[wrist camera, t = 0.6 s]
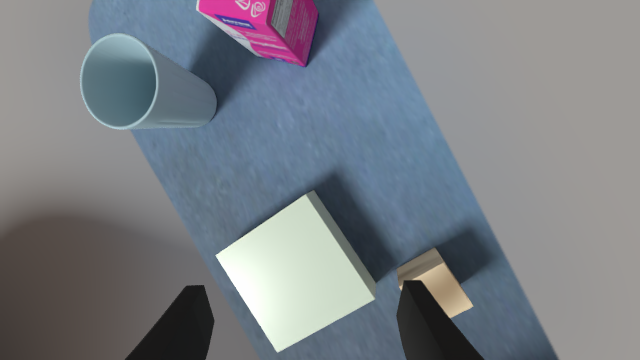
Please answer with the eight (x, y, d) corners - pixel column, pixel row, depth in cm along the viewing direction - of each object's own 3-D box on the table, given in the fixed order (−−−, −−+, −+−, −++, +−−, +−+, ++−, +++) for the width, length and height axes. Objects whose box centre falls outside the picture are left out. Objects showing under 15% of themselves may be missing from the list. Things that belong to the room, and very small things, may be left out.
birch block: (459, 284, 30) (473, 306, 26) (420, 304, 31) (427, 329, 26) (434, 247, 30) (443, 262, 26) (396, 268, 31) (399, 286, 27)
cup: (174, 62, 34) (87, 23, 24) (233, 78, 33) (166, 44, 23) (161, 125, 35) (72, 114, 25) (217, 143, 34) (147, 139, 24)
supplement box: (257, 59, 32) (191, 8, 21) (270, 3, 31) (208, -81, 20) (306, 70, 31) (265, 23, 20) (321, 13, 30) (286, -70, 19)
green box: (375, 281, 32) (375, 299, 28) (289, 330, 35) (277, 352, 31) (314, 189, 33) (305, 194, 29) (234, 244, 35) (215, 255, 31)
